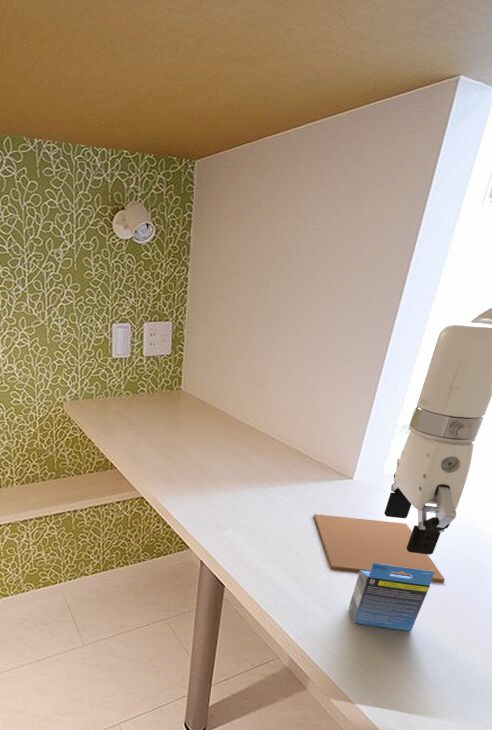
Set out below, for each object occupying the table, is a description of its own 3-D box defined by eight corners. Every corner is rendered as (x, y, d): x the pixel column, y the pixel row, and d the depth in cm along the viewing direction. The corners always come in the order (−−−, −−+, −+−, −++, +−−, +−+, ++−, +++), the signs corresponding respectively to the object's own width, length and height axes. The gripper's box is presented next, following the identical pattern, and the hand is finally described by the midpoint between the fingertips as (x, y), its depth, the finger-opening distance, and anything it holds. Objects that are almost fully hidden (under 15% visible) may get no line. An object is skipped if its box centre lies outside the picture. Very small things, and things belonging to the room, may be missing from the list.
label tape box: (403, 616, 73) (425, 555, 67) (412, 634, 69) (436, 572, 64) (347, 607, 74) (365, 548, 69) (353, 625, 71) (371, 563, 65)
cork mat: (405, 525, 99) (406, 523, 98) (443, 582, 81) (444, 579, 80) (313, 516, 102) (314, 513, 101) (331, 568, 84) (331, 565, 84)
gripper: (514, 450, 49) (461, 573, 56) (446, 407, 64) (411, 507, 71) (441, 443, 50) (399, 565, 57) (391, 403, 65) (363, 502, 72)
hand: (406, 533), depth 64 cm, fingers open, 9 cm apart
